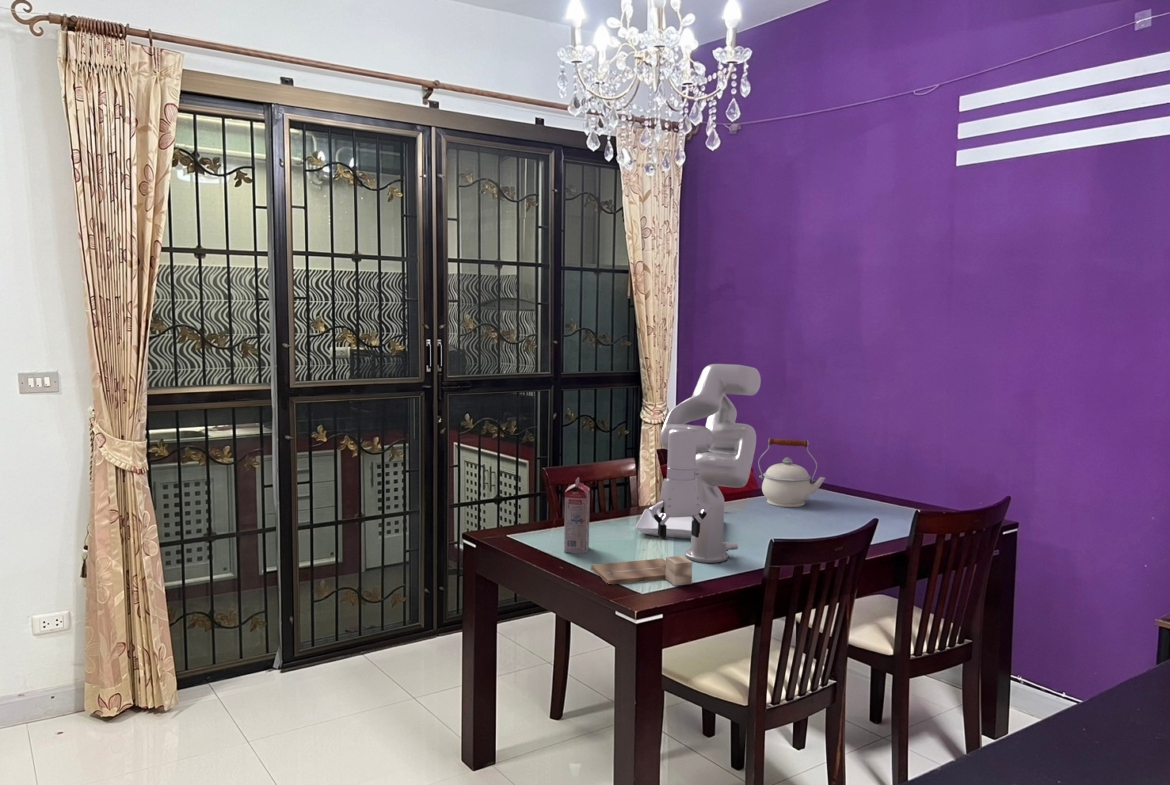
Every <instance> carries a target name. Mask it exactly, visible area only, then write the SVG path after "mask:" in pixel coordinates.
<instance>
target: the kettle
mask: <svg viewBox="0 0 1170 785" xmlns="http://www.w3.org/2000/svg"><path fill="white" fill-rule="evenodd" d="M767 442H768V446H767V449H766V450H765V451H764V452H763V453H762V454H761V455H760V457H759V458H758V461H757V464H758V469H759V472H760V474H761V475H759V476H758V477H759V478H760V479H761V481H762V480H763V481H762V483H761V484H762V485H761V491H762V494H763V495H764V497H766V502H767V503H768V504H769V505H772V506H775V507H781V508H799V507H802V506H804V505H805V504H806V501H807V500H808V499H809V498H810V496H811V495H813V494H814V493H815V492H816V491H818V489H819V488H820V487H821V485H822V484H823V482H824V481H825V480H826V477H824V476H819V477H818V478H817V480H815V479H814V477H815V475H816V472H817V468H818V463H817V460H816V459H815V457H814V455H812V454H811V452H810V451H809V445H810V443H809V440H808V439H807V440H806V439H804V440H799V439H791V438H788V439H787V438H786V439H785V438H772V437H769V438H768V441H767ZM773 445H777V446H785V447H804V448H806V451H807V453H808V455H810V457H811V458H812V459H813V461H814V463H815V470H814V473H813V474H812V477H811V475H810V474H809V473H808V470H806V468H805V467H803V466H800V465H798V464H796V463H795V464H794V463H793V460H792V458H790V457H788V456H787V457H784V459H782V460H781V461H782V462H781V463H775V464H773V465H770V466H769V467H768V468H767V469H766V471H765V472H763V471H762V470H761V465H760V461H761V458H762V457H763V456H764V455H765V454H766V453H767V452H768V451H769V448H770V446H773Z"/></svg>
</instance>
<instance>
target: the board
mask: <svg viewBox="0 0 1170 785" xmlns="http://www.w3.org/2000/svg"><path fill="white" fill-rule="evenodd" d="M664 562H666V559H664V558H652V559H650V558H649V559H642V560H633V561H631V560H630V561H620V562H619V561H618V562H610V563H609V562H608V563H600V564H599V563H598V564H591V565H590V569H591V571H593V573H595V575H597V576H598V577H599V576H600V577H601V578H602V581H604V582H605V584H607V583H608V584H612V585H620V584H619V583H622V584H629V583H630V584H632V583H639V582H641V581H642V582H650V581H659V580H660V581H662V580H666V579H665V576H666V568H665V566H664V565H663V563H664ZM601 578H600V579H601ZM631 582H632V583H631ZM642 582H641V583H642ZM617 583H618V584H617ZM608 584H607V585H608Z"/></svg>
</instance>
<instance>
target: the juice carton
mask: <svg viewBox="0 0 1170 785" xmlns="http://www.w3.org/2000/svg"><path fill="white" fill-rule="evenodd" d="M590 490H591V489H590V487H589V486H587V485H585V484H584V483H582V482H581V481H580V476H578V477H577V478H576V479H575V483H574V484H571V485H570V486H568V487H567V488H566V490H565V491H564V533H563V534H564V535H563V536H564V538H563V540H564V541H563V542H564V543H563V553H566V552H572V553H571V554H584V553H586V554H587V552H588V550H589V548H590V501H591V500H590V496H591V495H590V494H591V493H590V492H591V491H590Z"/></svg>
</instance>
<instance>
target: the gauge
mask: <svg viewBox="0 0 1170 785" xmlns="http://www.w3.org/2000/svg"><path fill="white" fill-rule="evenodd" d="M665 561H666V562H664V563H663V565H664V566H665V568H666V576H665V579H664V580H667V581H668V583H669V582H670V583H671V584H672V585H673V586H683V585H692V584H693V561H692V560H690V559H688V558H687V557H686V556H684V555H675V556H674V555H673V556H666V557H665Z"/></svg>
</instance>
